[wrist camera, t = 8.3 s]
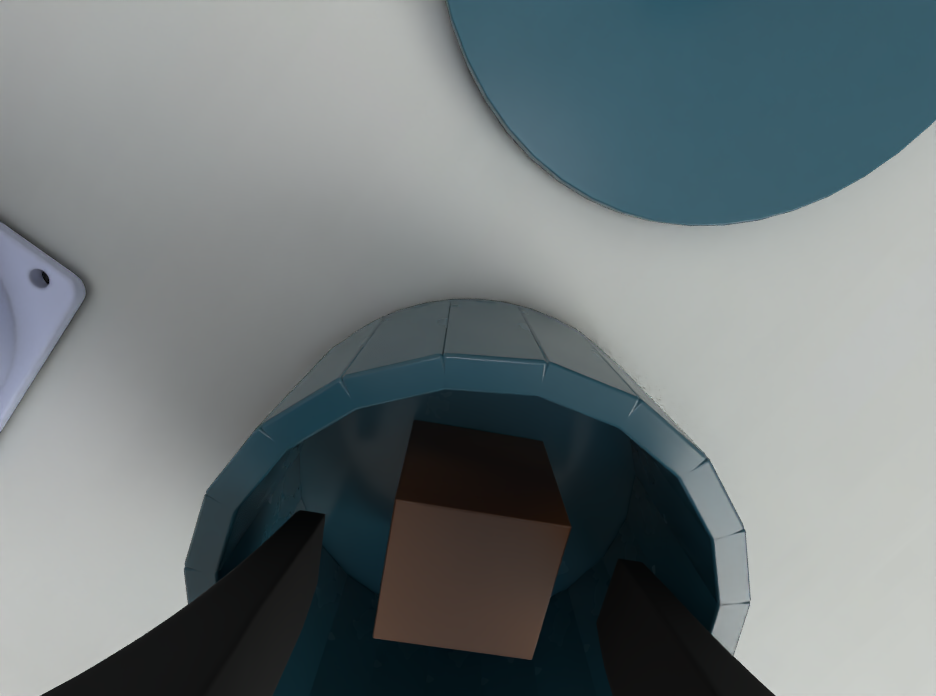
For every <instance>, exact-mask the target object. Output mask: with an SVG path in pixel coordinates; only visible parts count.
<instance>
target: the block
mask: <svg viewBox="0 0 936 696" xmlns="http://www.w3.org/2000/svg"><path fill="white" fill-rule="evenodd" d="M570 531H571V524H570V521H569V518H568V515H567V512H566V509H565V506H564V503H563V500H562V497H561V494H560V491H559V488H558V485H557V482H556V479H555V476H554V473H553V470H552V467H551V464H550V461H549V458H548V455H547V452H546V449H545V446H544V443H543V441H539V440H533V439H527V438H521V437H515V436H509V435H503V434H497V433H491V432H485V431H479V430H473V429H467V428H461V427H455V426H449V425H443V424H437V423H431V422H425V421H419V420H414V421H413V425H412V430H411V434H410V438H409V442H408V446H407V450H406V455H405V459H404V463H403V467H402V471H401V475H400V480H399V484H398V488H397V492H396V496H395V501H394V507H393V513H392V519H391V525H390V531H389V537H388V543H387V549H386V555H385V562H384V568H383V574H382V580H381V586H380V592H379V598H378V604H377V610H376V616H375V622H374V628H373V635H372V636H373V638H375V639H382V640H390V641H397V642H404V643H411V644H419V645H426V646H433V647H440V648H448V649H455V650H462V651H469V652H477V653H484V654H491V655H499V656H506V657H513V658H520V659H528V660H532V658H533V654H534V651H535V648H536V644H537V641H538V638H539V634H540V631H541V628H542V624H543V621H544V618H545V614H546V611H547V608H548V604H549V601H550V598H551V594H552V591H553V588H554V584H555V581H556V578H557V574H558V571H559V567H560V564H561V561H562V557H563V554H564V551H565V547H566V544H567V541H568V537H569V534H570Z"/></svg>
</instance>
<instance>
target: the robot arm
mask: <svg viewBox="0 0 936 696" xmlns="http://www.w3.org/2000/svg"><path fill="white" fill-rule="evenodd" d="M42 271H44V272H45V273H46V274H47V275H48V277H49V280H50V281H49V284H47V283H46V282H45V281H44V280H43V277H42ZM85 294H86V292H85V286H84V284H83V282H82V281H81V279H80V278H79V277H78V276H76V275H75V274H74V273H73V272H71V271H70V270H68V269H67V268H65V267H64V266H63V265H61V264H60V263H58V262H57V261H56V260H54V259H53V258H51V257H50V256H49V255H47V254H46V253H44V252H43V251H41V250H40V249H39V248H37V247H36V246H34V245H33V244H32V243H30V242H29V241H27V240H26V239H24V238H23V237H22V236H20V235H19V234H17V233H16V232H15V231H13V230H12V229H10V228H9V227H7V226H6V225H5V224H3V223H2V222H0V432H1V431H2V429H3V428H4V426H5V424H6V423H7V421H8V420H9V418H10V416H11V415H12V413H13V412H14V410H15V408H16V407H17V405H18V404H19V402H20V401H21V399H22V397H23V396H24V394H25V393H26V391H27V389H28V388H29V386H30V385H31V383H32V381H33V380H34V378H35V377H36V375H37V373H38V372H39V370H40V369H41V367H42V365H43V364H44V362H45V361H46V359H47V358H48V356H49V354H50V353H51V351H52V350H53V348H54V346H55V345H56V343H57V342H58V340H59V338H60V337H61V335H62V334H63V332H64V330H65V329H66V327H67V326H68V324H69V323H70V321H71V319H72V318H73V316H74V315H75V313H76V311H77V310H78V308H79V307H80V305H81V303H82V302H83V300H84V297H85ZM324 523H325V514H323V513H316V512H310V511H303V510H299V511H298V512H296V513H294V514H293V515H292V516H291V517H290V518H289V519H288V520H287V521H286V522H285V523H284V524H283V525H282V526H281V527H280V528H279V529H278V530H277V531H276V532H275V533H274V534H273V535H272V536H270V537H269V538H268V539H267V540H266V541H265V542H264V543H263V544H262V545H261V546H259V547H258V548H257V549H256V550H255V551H254V552H253V553H251V554H250V555H249V556H248V557H247V558H246V559H244V560H243V561H242V562H241V563H240V564H239V565H238V566H236V567H235V568H234V569H233V570H232V571H230V572H229V573H228V574H227V575H226V576H224V577H223V578H222V579H220V580H219V581H218V582H217V583H215V584H214V585H213V586H211V587H210V588H209V589H208V590H206V591H205V592H204V593H203V594H201V595H200V596H199V597H197V598H196V599H195V600H193V601H192V602H191V603H189V604H188V605H187V606H185V607H184V608H183V609H181V610H180V611H178V612H177V613H176V614H174V615H173V616H171V617H170V618H168V619H167V620H166V621H164V622H163V623H161V624H160V625H158V626H157V627H155V628H154V629H152V630H151V631H149V632H148V633H146V634H145V635H143V636H142V637H140V638H139V639H137V640H135V641H134V642H132V643H131V644H129V645H127V646H126V647H124V648H123V649H121V650H119V651H118V652H116V653H115V654H113V655H111V656H110V657H108V658H106V659H105V660H103V661H101V662H100V663H98V664H96V665H95V666H93V667H91V668H90V669H88V670H86V671H85V672H83V673H81V674H79V675H78V676H76V677H74V678H72V679H70V680H68V681H67V682H65V683H63V684H61V685H59V686H57V687H55V688H54V689H52V690H50V691H48V692H46V693H44V694H42V695H41V696H273V693H274V691H275V689H276V687H277V685H278V682H279V680H280V678H281V676H282V673H283V671H284V669H285V667H286V664H287V662H288V660H289V658H290V655H291V653H292V651H293V649H294V646H295V644H296V642H297V640H298V637H299V635H300V633H301V631H302V628H303V626H304V623H305V620H306V617H307V614H308V611H309V608H310V605H311V602H312V599H313V596H314V592H315V589H316V586H317V583H318V575H319V566H320V557H321V549H322V540H323V531H324ZM596 625H597V631H598V636H599V642H600V648H601V653H602V658H603V662H604V667H605V671H606V675H607V678H608V681H609V685H610V688H611V691H612V694H613V696H775V695H774V694H773V693H772V692H771V691H770V690H769V689H767V688H766V687H765V686H764V685H763V684H762V683H761V682H760V681H759V680H758V679H757V678H756V677H755V676H753V675H752V674H751V673H750V672H749V671H748V670H747V669H746V668H745V667H744V666H743V665H742V664H741V663H740V662H739V661H738V660H737V659H736V658H735V657H734V656H733V655H732V654H731V653H730V652H729V651H728V650H727V649H726V648H725V647H724V646H723V645H722V644H721V643H720V642H719V641H718V640H717V639H716V638H715V637H714V636H713V635H712V634H711V633H710V632H709V631H708V630H707V629H706V628H705V627H704V626H703V625H702V624H701V623H700V622H699V621H698V620H697V619H696V618H695V617H694V616H693V615H692V614H691V613H690V611H689V610H688V609H687V608H686V607H685V606H684V605H683V604H682V603H681V602H680V601H679V600H678V599H677V598H676V597H675V596H674V594H673V593H672V592H671V591H670V590H669V589H668V588H667V587H666V586H665V585H664V584H663V583H662V582H661V581H660V580H659V579H658V578H657V577H656V575H655V574H654V573H653V572H652V571H651V570H650V569H649V568H648V567H647V566H646V565H645V564H643V563H642V562H638V561H632V560H625V559H619V558H618V560H617V563H616V566H615V569H614V572H613V575H612V578H611V581H610V584H609V587H608V590H607V593H606V595H605V598H604V601H603V604H602V607H601V610H600V613H599V616H598V619H597V622H596Z"/></svg>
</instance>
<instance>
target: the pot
mask: <svg viewBox="0 0 936 696" xmlns="http://www.w3.org/2000/svg"><path fill="white" fill-rule="evenodd" d="M414 420H419V421H425V422H431V423H437V424H443V425H449V426H455V427H461V428H467V429H473V430H479V431H485V432H491V433H497V434H503V435H509V436H515V437H521V438H527V439H533V440H539V441H543V443H544V446H545V449H546V452H547V455H548V458H549V461H550V464H551V467H552V470H553V473H554V476H555V479H556V482H557V485H558V488H559V491H560V494H561V497H562V500H563V503H564V506H565V509H566V512H567V515H568V518H569V521H570V524H571V531H570V534H569V537H568V541H567V544H566V547H565V551H564V554H563V557H562V561H561V564H560V567H559V571H558V574H557V578H556V581H555V584H554V588H553V591H552V594H551V598H550V601H549V604H548V608H547V611H546V614H545V618H544V621H543V624H542V628H541V631H540V634H539V638H538V641H537V644H536V648H535V651H534V654H533V658H532V660H528V659H520V658H513V657H506V656H499V655H491V654H484V653H477V652H469V651H462V650H455V649H448V648H440V647H433V646H426V645H419V644H411V643H404V642H397V641H390V640H382V639H375V638H373V636H372V635H373V628H374V622H375V616H376V610H377V604H378V598H379V592H380V586H381V580H382V574H383V568H384V562H385V555H386V549H387V543H388V537H389V531H390V525H391V519H392V513H393V507H394V501H395V496H396V492H397V488H398V484H399V480H400V475H401V471H402V467H403V463H404V459H405V455H406V450H407V446H408V442H409V438H410V434H411V430H412V425H413V421H414ZM299 510H303V511H310V512H316V513H323V514H325V523H324V531H323V540H322V549H321V557H320V566H319V575H318V583H317V586H316V589H315V592H314V596H313V599H312V602H311V605H310V608H309V611H308V614H307V617H306V620H305V623H304V626H303V628H302V631H301V633H300V635H299V637H298V640H297V642H296V644H295V646H294V649H293V651H292V653H291V655H290V658H289V660H288V662H287V664H286V667H285V669H284V671H283V673H282V676H281V678H280V680H279V682H278V685H277V687H276V689H275V691H274V693H273V696H613V694H612V691H611V688H610V685H609V681H608V678H607V675H606V671H605V667H604V662H603V658H602V653H601V648H600V642H599V636H598V631H597V625H596V622H597V619H598V616H599V613H600V610H601V607H602V604H603V601H604V598H605V595H606V593H607V590H608V587H609V584H610V581H611V578H612V575H613V572H614V569H615V566H616V563H617V560H618V558H619V559H625V560H632V561H638V562H642V563H643V564H645V565H646V566H647V567H648V568H649V569H650V570H651V571H652V572H653V573H654V574H655V575H656V577H657V578H658V579H659V580H660V581H661V582H662V583H663V584H664V585H665V586H666V587H667V588H668V589H669V590H670V591H671V592H672V593H673V594H674V596H675V597H676V598H677V599H678V600H679V601H680V602H681V603H682V604H683V605H684V606H685V607H686V608H687V609H688V610H689V611H690V613H691V614H692V615H693V616H694V617H695V618H696V619H697V620H698V621H699V622H700V623H701V624H702V625H703V626H704V627H705V628H706V629H707V630H708V631H709V632H710V633H711V634H712V635H713V636H714V637H715V638H716V639H717V640H718V641H719V642H720V643H721V644H722V645H723V646H724V647H725V648H726V649H727V650H728V651H729V652H730V653H731V654H732V655H734V652H735V649H736V646H737V643H738V640H739V637H740V634H741V631H742V628H743V624H744V621H745V618H746V615H747V612H748V609H749V606H750V600H751V598H750V585H749V572H748V558H747V545H746V532H745V529H744V526H743V523H742V521H741V519H740V518H739V516H738V514H737V512H736V510H735V508H734V506H733V504H732V502H731V500H730V498H729V496H728V494H727V492H726V490H725V488H724V487H723V485H722V483H721V481H720V479H719V477H718V475H717V473H716V471H715V469H714V467H713V465H712V463H711V461H710V459H709V458H708V457H707V456H706V455H705V453H704V452H703V451H702V450H701V449H700V448H699V447H698V446H697V445H696V444H695V443H694V442H693V441H692V440H691V439H690V438H689V437H688V436H687V435H686V434H685V433H684V432H683V431H682V430H681V429H680V428H679V427H678V426H677V425H676V423H675V422H674V421H673V420H672V419H671V418H670V417H669V416H668V415H667V414H666V413H665V412H664V411H663V410H662V409H661V408H660V407H659V406H658V405H657V404H656V403H655V402H654V401H653V400H652V399H651V398H650V397H649V396H648V395H647V394H646V393H645V392H644V391H643V389H642V388H641V387H640V386H639V385H638V384H637V383H636V382H635V381H634V380H633V379H632V378H631V377H630V376H629V375H628V374H627V373H626V372H625V371H624V370H623V369H622V368H621V367H620V366H619V365H618V364H616V363H615V362H614V361H613V360H612V359H611V358H610V357H608V356H607V355H606V354H605V353H604V352H603V351H602V350H601V349H600V348H599V347H598V346H597V345H595V344H594V343H593V342H591V341H590V340H589V339H588V338H587V337H586V336H585V335H584V334H582V333H581V332H580V331H578V330H577V329H575V328H573V327H570V326H568V325H566V324H564V323H563V322H561V321H559V320H557V319H556V318H553V317H551V316H548V315H546V314H543V313H541V312H538V311H536V310H533V309H531V308H527V307H523V306H519V305H515V304H511V303H507V302H500V301H492V300H483V299H450V300H443V301H436V302H429V303H423V304H420V305H416V306H412V307H409V308H405V309H402V310H398V311H396V312H394V313H391V314H388V315H387V316H384V317H382V318H380V319H377V320H375V321H373V322H372V323H370V324H368V325H367V326H365V327H363V328H362V329H360V330H358V331H357V332H355V333H353V334H352V335H351V336H349V337H348V338H347V339H346V340H344V341H343V342H341V343H339V344H338V345H336V346H335V347H333V348H332V349H331V350H330V351H329V352H328V353H327V354H326V355H325V356H324V357H323V358H322V359H321V360H320V361H319V362H318V363H317V364H316V365H315V367H314V368H313V369H312V370H311V371H310V372H309V373H308V374H307V375H306V376H305V377H304V378H303V379H302V380H301V381H300V382H299V383H298V385H297V386H296V387H295V388H294V389H293V390H292V391H291V392H290V393H289V394H288V395H287V396H286V397H285V398H284V399H283V400H282V401H281V403H280V404H279V405H278V406H277V407H276V408H275V409H274V410H273V411H272V412H271V413H270V414H269V415H268V416H267V417H266V418H265V419H264V421H263V422H262V423H261V424H260V425H259V426H258V427H257V428H256V429H255V430H254V432H253V433H252V434H251V435H250V437H249V438H248V439H247V440H246V442H245V443H244V444H243V445H242V447H241V448H240V449H239V450H238V452H237V453H236V454H235V455H234V457H233V458H232V459H231V460H230V462H229V463H228V464H227V465H226V467H225V468H224V469H223V470H222V472H221V473H220V474H219V475H218V477H217V478H216V479H215V480H214V482H213V483H212V484H211V485H210V487H209V488H208V489H207V491H206V494H205V495H204V499H203V502H202V506H201V509H200V513H199V516H198V519H197V523H196V526H195V530H194V533H193V537H192V540H191V543H190V547H189V550H188V554H187V557H186V561H185V568H184V575H185V584H186V592H187V600H188V604H189V603H191V602H192V601H193V600H195V599H196V598H197V597H199V596H200V595H201V594H203V593H204V592H205V591H206V590H208V589H209V588H210V587H211V586H213V585H214V584H215V583H217V582H218V581H219V580H220V579H222V578H223V577H224V576H226V575H227V574H228V573H229V572H230V571H232V570H233V569H234V568H235V567H236V566H238V565H239V564H240V563H241V562H242V561H243V560H244V559H246V558H247V557H248V556H249V555H250V554H251V553H253V552H254V551H255V550H256V549H257V548H258V547H259V546H261V545H262V544H263V543H264V542H265V541H266V540H267V539H268V538H269V537H270V536H272V535H273V534H274V533H275V532H276V531H277V530H278V529H279V528H280V527H281V526H282V525H283V524H284V523H285V522H286V521H287V520H288V519H289V518H290V517H291V516H292V515H293V514H294V513H296V512H298V511H299Z"/></svg>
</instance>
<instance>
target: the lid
mask: <svg viewBox="0 0 936 696" xmlns="http://www.w3.org/2000/svg"><path fill="white" fill-rule="evenodd" d="M446 4H447V8H448V12H449V16H450V20H451V24H452V27H453V30H454V33H455V35H456V38H457V40H458V43H459V46H460V48H461V51H462V54H463V56H464V59H465V62H466V64H467V67H468V69H469V70H470V72H471V74H472V76H473V78H474V80H475V82H476V84H477V86H478V88H479V90H480V92H481V93H482V95H483V97H484V99H485V101H486V102H487V104H488V105H489V107H490V108H491V110H492V111H493V113H494V114H495V115H496V117H497V118H498V120H499V121H500V123H501V124H502V126H503V127H504V128H505V130H506V131H507V133H508V134H509V135H510V136H511V137H512V138H513V139H514V140H515V141H516V142H517V144H518V145H519V146H520V147H521V148H522V149H523V150H524V151H525V152H526V153H527V154H528V156H529V157H530V158H531V159H532V160H533V161H535V162H536V163H537V164H538V165H539V166H541V167H542V168H543V169H544V170H545V171H547V172H548V173H549V174H550V175H551V176H553V177H554V178H555V179H556V180H557V181H559V182H560V183H562V184H564V185H565V186H567V187H569V188H570V189H572V190H573V191H575V192H577V193H578V194H580V195H581V196H583V197H585V198H586V199H588V200H591V201H593V202H595V203H597V204H600V205H602V206H604V207H607V208H609V209H611V210H614V211H616V212H618V213H622V214H626V215H629V216H633V217H637V218H640V219H644V220H648V221H654V222H661V223H669V224H677V225H687V226H708V225H730V224H736V223H743V222H750V221H757V220H762V219H765V218H769V217H772V216H776V215H780V214H783V213H787V212H790V211H794V210H797V209H799V208H801V207H804V206H806V205H809V204H811V203H814V202H816V201H818V200H821V199H823V198H826V197H828V196H830V195H832V194H834V193H836V192H838V191H839V190H841V189H843V188H845V187H847V186H848V185H850V184H852V183H854V182H856V181H858V180H859V179H861V178H863V177H865V176H866V175H868V174H869V173H870V172H872V171H873V170H875V169H876V168H878V167H879V166H880V165H882V164H883V163H885V162H886V161H888V160H889V159H890V158H892V157H893V156H895V155H896V154H898V153H899V152H900V151H901V150H902V149H904V148H905V147H906V146H907V145H908V144H909V143H910V142H912V141H913V140H914V139H915V138H916V137H917V136H919V135H920V134H921V133H922V132H923V131H924V130H925V129H927V128H928V127H929V126H930V125H931V124H932V123H933V122H934V121H935V120H936V0H446Z"/></svg>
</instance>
